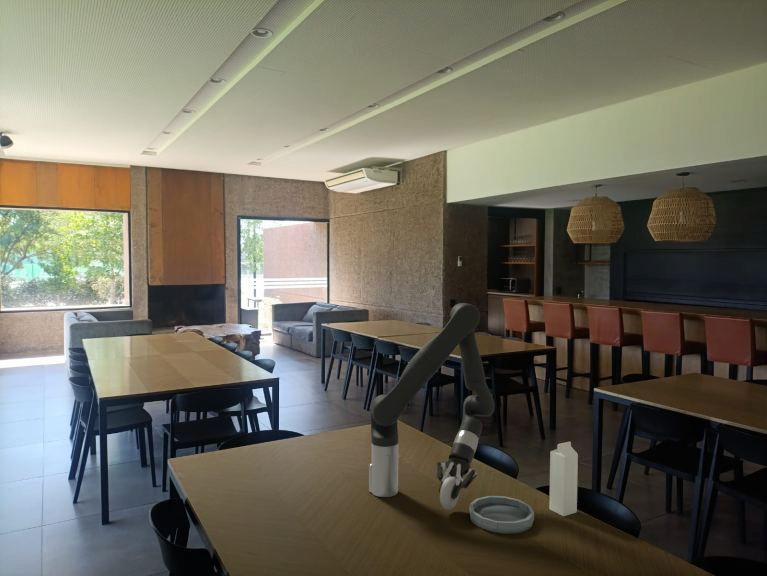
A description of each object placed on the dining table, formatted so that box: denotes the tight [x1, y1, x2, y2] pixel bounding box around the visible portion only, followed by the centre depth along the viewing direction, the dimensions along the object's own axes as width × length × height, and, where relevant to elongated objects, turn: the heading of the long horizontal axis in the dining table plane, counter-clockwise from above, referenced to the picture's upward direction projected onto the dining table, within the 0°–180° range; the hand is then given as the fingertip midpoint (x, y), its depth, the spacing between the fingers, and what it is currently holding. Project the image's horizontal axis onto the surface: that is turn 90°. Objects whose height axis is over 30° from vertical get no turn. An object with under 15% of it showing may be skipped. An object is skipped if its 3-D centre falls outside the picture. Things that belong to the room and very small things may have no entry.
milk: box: [548, 441, 579, 517], centre depth 178 cm, size 6×6×22 cm
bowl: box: [469, 495, 535, 535], centre depth 172 cm, size 19×19×3 cm
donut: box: [439, 477, 461, 510], centre depth 176 cm, size 10×3×10 cm, turn 147°
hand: (447, 496), depth 174 cm, fingers closed on donut, 3 cm apart
